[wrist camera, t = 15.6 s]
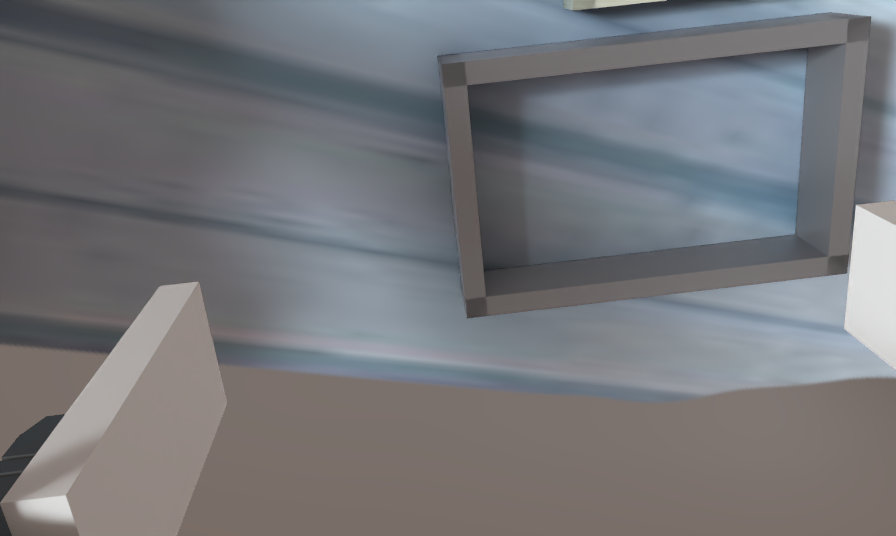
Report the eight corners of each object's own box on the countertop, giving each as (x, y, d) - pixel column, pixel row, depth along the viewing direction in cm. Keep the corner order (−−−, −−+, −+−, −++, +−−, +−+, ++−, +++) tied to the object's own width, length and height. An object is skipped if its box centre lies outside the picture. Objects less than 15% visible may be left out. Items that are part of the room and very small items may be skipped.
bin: (461, 291, 49) (467, 318, 45) (437, 55, 44) (441, 64, 40) (812, 250, 49) (846, 273, 46) (830, 12, 44) (871, 16, 40)
